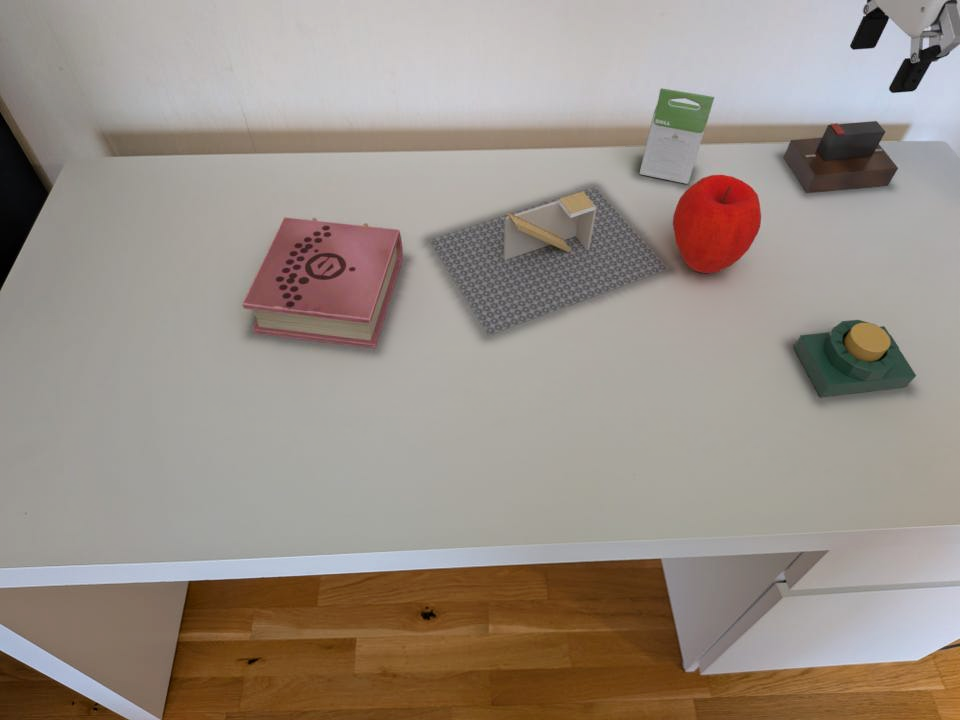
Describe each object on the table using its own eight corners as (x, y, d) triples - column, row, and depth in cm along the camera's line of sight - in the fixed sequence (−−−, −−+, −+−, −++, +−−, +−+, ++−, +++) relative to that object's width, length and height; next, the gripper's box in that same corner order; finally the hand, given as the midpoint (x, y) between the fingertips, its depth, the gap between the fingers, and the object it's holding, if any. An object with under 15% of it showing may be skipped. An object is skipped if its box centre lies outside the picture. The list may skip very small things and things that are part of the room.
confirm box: (875, 337, 78) (892, 315, 75) (906, 387, 74) (925, 365, 71) (793, 347, 77) (806, 324, 74) (819, 397, 73) (835, 376, 70)
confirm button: (871, 330, 74) (879, 320, 73) (889, 359, 72) (898, 349, 71) (837, 334, 74) (844, 324, 73) (854, 363, 72) (861, 353, 70)
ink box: (692, 168, 97) (719, 81, 86) (688, 185, 95) (715, 98, 84) (643, 158, 98) (664, 71, 87) (638, 175, 96) (659, 87, 85)
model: (589, 249, 87) (597, 202, 81) (515, 275, 84) (518, 228, 78) (576, 233, 89) (584, 186, 82) (503, 258, 86) (505, 211, 80)
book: (404, 254, 86) (400, 224, 82) (375, 348, 77) (369, 319, 73) (295, 242, 87) (286, 212, 83) (253, 333, 78) (242, 304, 74)
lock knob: (863, 145, 95) (877, 119, 92) (871, 156, 94) (886, 130, 90) (816, 149, 95) (828, 123, 91) (823, 160, 93) (837, 134, 90)
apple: (647, 245, 87) (668, 166, 78) (713, 228, 89) (742, 149, 80) (686, 299, 82) (714, 222, 72) (756, 280, 84) (793, 202, 74)
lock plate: (860, 151, 100) (871, 132, 97) (887, 185, 95) (899, 167, 92) (783, 157, 99) (791, 138, 96) (806, 193, 94) (815, 174, 91)
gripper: (1049, -55, 65) (948, 106, 78) (948, -123, 75) (874, 31, 88) (976, -51, 64) (887, 111, 78) (885, -120, 74) (820, 34, 88)
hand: (880, 68), depth 83 cm, fingers open, 9 cm apart
